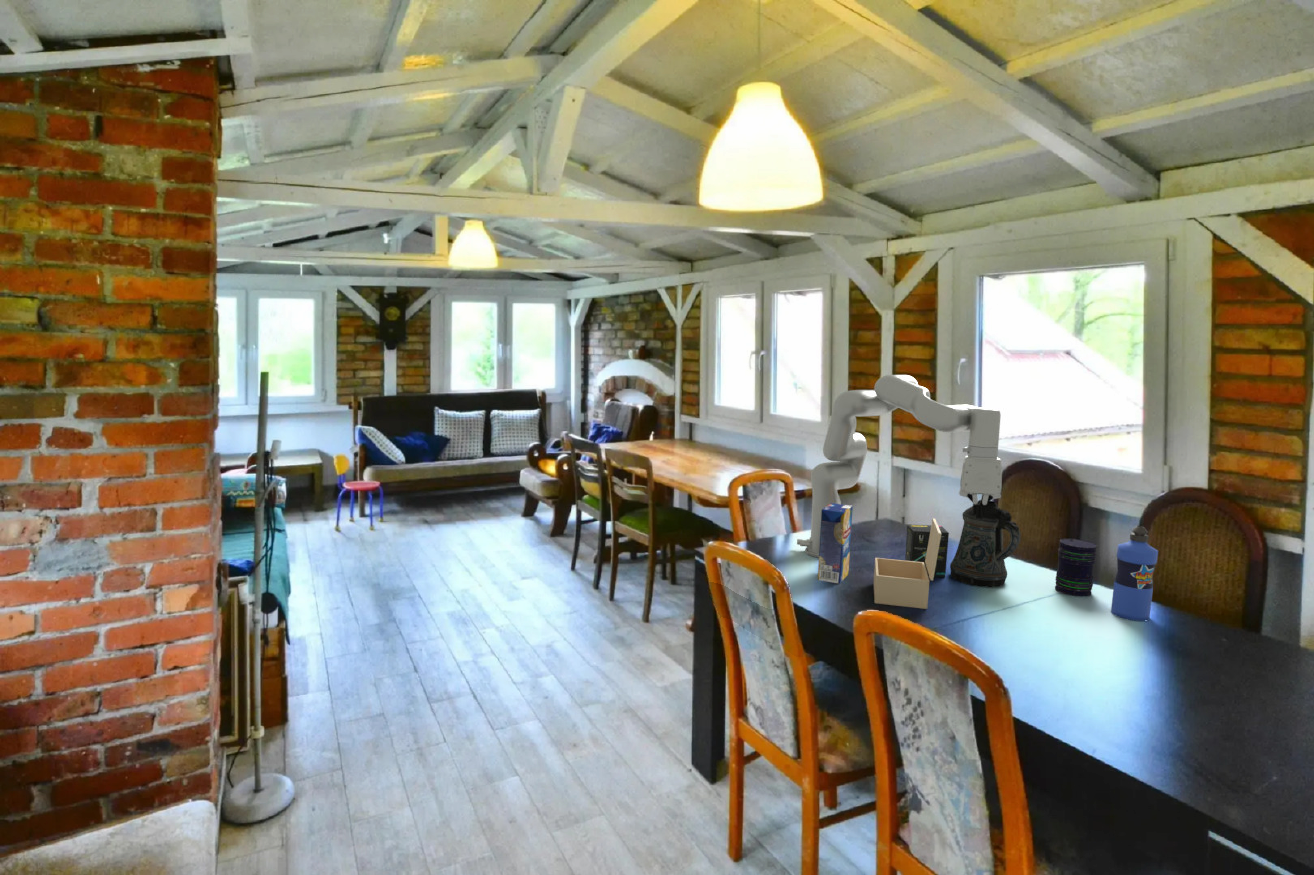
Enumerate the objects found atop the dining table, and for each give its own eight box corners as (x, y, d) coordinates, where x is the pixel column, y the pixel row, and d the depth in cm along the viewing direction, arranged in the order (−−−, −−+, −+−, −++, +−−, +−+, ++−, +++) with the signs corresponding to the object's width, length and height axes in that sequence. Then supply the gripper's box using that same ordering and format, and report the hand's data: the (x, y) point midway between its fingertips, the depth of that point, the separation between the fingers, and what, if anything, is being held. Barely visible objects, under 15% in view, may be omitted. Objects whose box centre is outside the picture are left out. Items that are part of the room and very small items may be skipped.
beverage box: (848, 574, 236) (852, 505, 233) (839, 583, 226) (844, 512, 223) (826, 570, 239) (830, 502, 236) (817, 579, 229) (821, 509, 226)
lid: (938, 533, 204) (941, 533, 203) (932, 518, 221) (935, 518, 221) (930, 580, 206) (933, 580, 206) (925, 561, 223) (927, 562, 223)
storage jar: (1099, 596, 221) (1105, 547, 219) (1069, 597, 220) (1075, 548, 218) (1075, 585, 231) (1080, 538, 229) (1047, 586, 229) (1052, 538, 227)
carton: (874, 603, 210) (876, 575, 209) (873, 583, 228) (875, 557, 227) (927, 609, 207) (929, 581, 206) (922, 588, 224) (924, 562, 223)
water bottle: (1158, 621, 202) (1169, 531, 199) (1125, 621, 202) (1136, 531, 198) (1133, 608, 212) (1144, 522, 208) (1102, 608, 211) (1112, 522, 207)
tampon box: (938, 568, 244) (941, 525, 242) (946, 577, 235) (949, 532, 233) (903, 567, 245) (906, 523, 243) (910, 575, 236) (913, 530, 234)
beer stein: (953, 567, 246) (960, 493, 242) (1019, 578, 236) (1026, 501, 233) (945, 581, 231) (951, 502, 228) (1014, 593, 222) (1022, 511, 218)
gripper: (955, 452, 205) (951, 518, 207) (1015, 456, 201) (1009, 522, 203) (952, 449, 212) (948, 512, 214) (1009, 452, 208) (1004, 517, 210)
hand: (978, 517), depth 209 cm, fingers closed
